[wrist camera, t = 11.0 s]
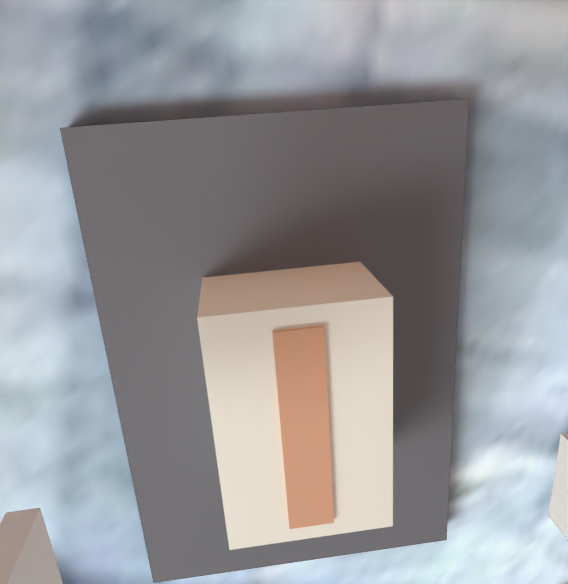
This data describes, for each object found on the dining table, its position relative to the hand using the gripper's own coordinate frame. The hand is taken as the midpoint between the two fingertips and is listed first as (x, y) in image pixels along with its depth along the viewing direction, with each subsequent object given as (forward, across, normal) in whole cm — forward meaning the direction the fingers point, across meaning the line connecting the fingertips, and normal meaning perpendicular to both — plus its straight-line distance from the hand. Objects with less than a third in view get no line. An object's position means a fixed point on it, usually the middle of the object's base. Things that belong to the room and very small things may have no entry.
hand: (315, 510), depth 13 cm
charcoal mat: (+9, 0, +1) cm, 9 cm away
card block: (+8, 0, +1) cm, 8 cm away
